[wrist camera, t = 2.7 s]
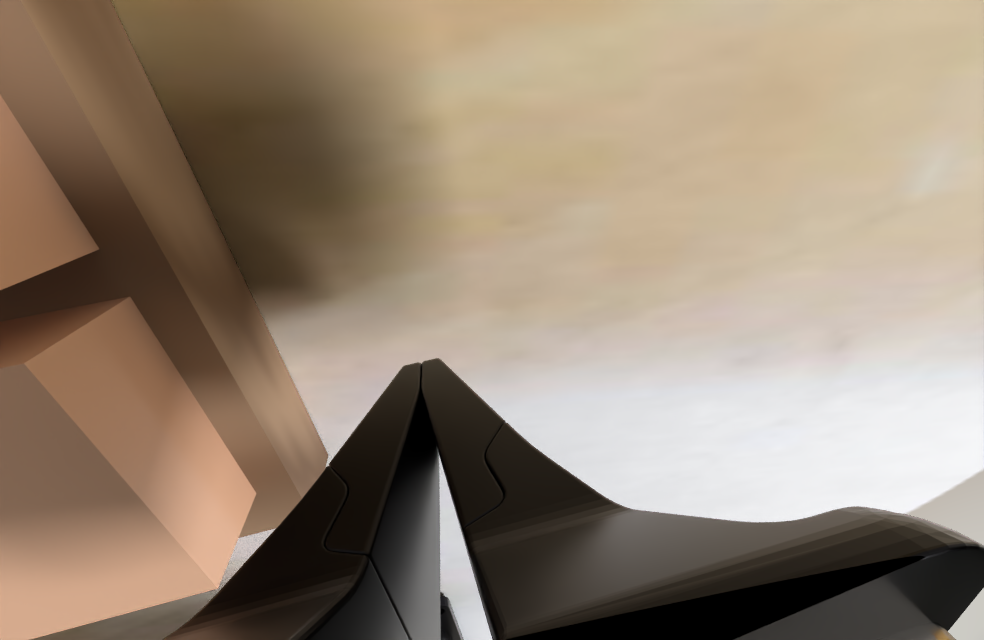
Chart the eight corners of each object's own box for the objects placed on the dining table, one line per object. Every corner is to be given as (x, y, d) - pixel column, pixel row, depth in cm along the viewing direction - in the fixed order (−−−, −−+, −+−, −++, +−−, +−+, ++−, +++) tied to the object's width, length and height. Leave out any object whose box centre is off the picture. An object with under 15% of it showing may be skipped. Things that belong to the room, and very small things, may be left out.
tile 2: (256, 493, 11) (217, 588, 9) (16, 553, 10) (-91, 672, 8) (130, 296, 8) (23, 363, 6) (-213, 363, 7) (-478, 466, 5)
